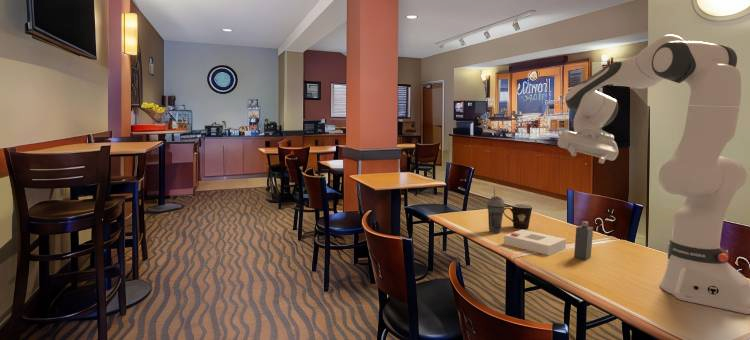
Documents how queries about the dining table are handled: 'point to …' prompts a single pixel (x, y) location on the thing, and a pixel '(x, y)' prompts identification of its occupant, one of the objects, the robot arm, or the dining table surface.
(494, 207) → the beverage cup
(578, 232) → the dark grey bottle
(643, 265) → the dining table surface
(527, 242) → the flat white box
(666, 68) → the robot arm
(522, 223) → the coffee mug
